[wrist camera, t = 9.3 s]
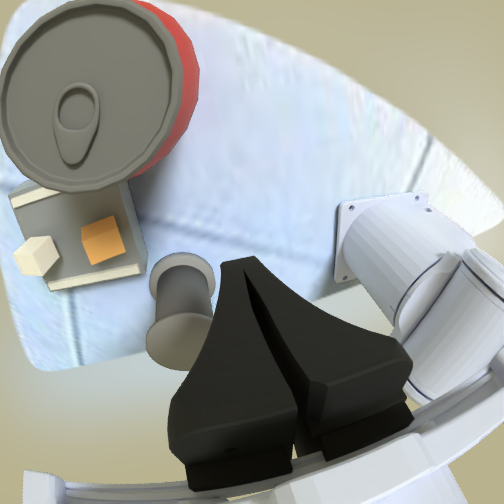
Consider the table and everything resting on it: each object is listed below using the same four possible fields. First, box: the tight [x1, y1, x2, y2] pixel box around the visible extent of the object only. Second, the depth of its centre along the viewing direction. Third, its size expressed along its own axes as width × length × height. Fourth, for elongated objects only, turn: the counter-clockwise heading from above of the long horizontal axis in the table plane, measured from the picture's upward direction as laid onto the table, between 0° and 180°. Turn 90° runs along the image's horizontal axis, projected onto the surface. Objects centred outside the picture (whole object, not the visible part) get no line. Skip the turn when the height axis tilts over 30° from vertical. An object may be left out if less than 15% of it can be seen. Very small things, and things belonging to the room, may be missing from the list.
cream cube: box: [13, 236, 59, 276], centre depth 16 cm, size 2×2×2 cm
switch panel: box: [8, 179, 148, 292], centre depth 18 cm, size 8×8×3 cm
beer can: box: [0, 0, 200, 195], centre depth 11 cm, size 7×7×12 cm
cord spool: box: [146, 252, 216, 371], centre depth 21 cm, size 5×5×7 cm
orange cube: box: [81, 215, 126, 265], centre depth 16 cm, size 2×2×2 cm
